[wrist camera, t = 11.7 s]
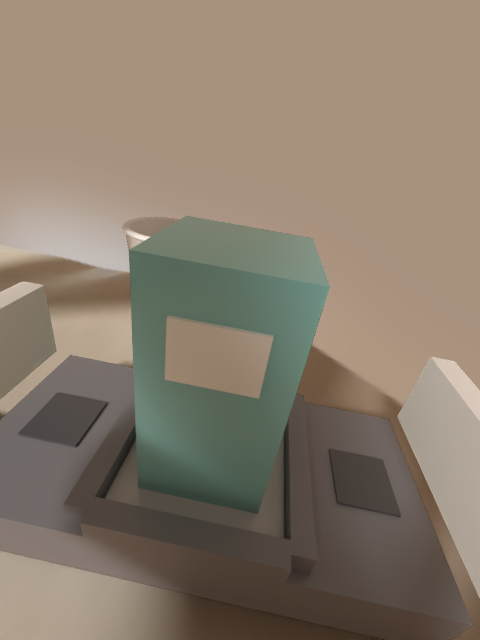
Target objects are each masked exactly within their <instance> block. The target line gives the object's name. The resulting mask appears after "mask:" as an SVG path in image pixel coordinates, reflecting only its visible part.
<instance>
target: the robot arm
mask: <svg viewBox="0 0 480 640" xmlns="http://www.w3.org/2000/svg"><path fill="white" fill-rule="evenodd" d="M56 351H57V350H56V345H55V340H54V335H53V329H52V324H51V319H50V313H49V308H48V303H47V297H46V292H45V287H44V285H41V284H36V283H30V282H25V281H22V282H20V283H18V284H16V285H13V286H11V287H9V288H7V289H5V290H3V291H1V292H0V399H1V398H3V397H4V396H5V395H6V394H7V393H8V392H9V391H11V390H12V389H13V388H14V387H15V386H16V385H18V384H19V383H20V382H21V381H22V380H23V379H25V378H26V377H27V376H28V375H29V374H30V373H31V372H33V371H34V370H35V369H36V368H37V367H38V366H40V365H41V364H42V363H43V362H44V361H45V360H47V359H48V358H49V357H50V356H51V355H52V354H54V353H55V352H56ZM397 417H398V419H399V422H400V424H401V426H402V428H403V430H404V433H405V435H406V437H407V439H408V441H409V444H410V446H411V448H412V450H413V453H414V455H415V457H416V459H417V461H418V464H419V466H420V468H421V470H422V472H423V475H424V477H425V479H426V481H427V483H428V486H429V488H430V490H431V492H432V495H433V497H434V499H435V501H436V503H437V506H438V508H439V510H440V512H441V514H442V517H443V519H444V521H445V523H446V525H447V528H448V530H449V532H450V534H451V537H452V539H453V541H454V543H455V545H456V548H457V550H458V552H459V554H460V556H461V559H462V561H463V563H464V565H465V567H466V570H467V572H468V574H469V576H470V579H471V581H472V583H473V585H474V587H475V590H476V592H477V594H478V596H479V598H480V390H479V389H478V388H477V387H476V386H475V385H474V383H473V382H472V381H471V380H470V379H469V378H468V377H467V375H466V374H465V373H464V372H463V371H462V369H461V368H460V367H459V366H458V365H457V364H456V362H455V361H451V360H445V359H440V358H434V357H430V359H429V361H428V363H427V365H426V366H425V368H424V370H423V372H422V373H421V375H420V377H419V379H418V381H417V382H416V384H415V386H414V388H413V389H412V391H411V393H410V395H409V396H408V398H407V400H406V402H405V404H404V405H403V407H402V409H401V411H400V412H399V414H398V416H397Z"/></svg>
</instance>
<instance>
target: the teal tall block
mask: <svg viewBox="0 0 480 640" xmlns="http://www.w3.org/2000/svg"><path fill="white" fill-rule="evenodd" d="M129 261H130V288H131V315H132V342H133V369H134V397H135V424H136V451H137V478H138V488H141V489H145V490H150V491H155V492H159V493H164V494H168V495H173V496H177V497H182V498H187V499H191V500H196V501H200V502H205V503H209V504H214V505H219V506H223V507H228V508H232V509H237V510H241V511H246V512H251V513H255V514H258V512H259V509H260V506H261V503H262V500H263V496H264V493H265V490H266V487H267V484H268V481H269V478H270V474H271V471H272V468H273V465H274V462H275V459H276V455H277V452H278V449H279V446H280V443H281V440H282V437H283V433H284V430H285V427H286V424H287V421H288V418H289V414H290V411H291V408H292V405H293V402H294V399H295V396H296V392H297V389H298V386H299V383H300V380H301V377H302V373H303V370H304V367H305V364H306V361H307V358H308V355H309V351H310V348H311V345H312V342H313V339H314V336H315V332H316V329H317V326H318V323H319V320H320V316H321V313H322V310H323V307H324V303H325V301H326V298H327V294H328V291H329V288H330V285H329V283H328V280H327V277H326V274H325V272H324V269H323V266H322V263H321V260H320V258H319V255H318V252H317V250H316V246H315V244H314V241H313V238H309V237H303V236H297V235H291V234H286V233H281V232H275V231H269V230H264V229H258V228H252V227H247V226H241V225H235V224H230V223H224V222H218V221H213V220H207V219H202V218H196V217H191V216H185V217H183V218H182V219H180V220H178V221H177V222H175V223H173V224H172V225H170V226H168V227H167V228H165V229H163V230H162V231H160V232H158V233H156V234H155V235H153V236H151V237H150V238H148V239H146V240H145V241H143V242H141V243H140V244H138V245H136V246H135V247H133V248H131V249H130V250H129Z"/></svg>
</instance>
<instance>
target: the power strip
mask: <svg viewBox="0 0 480 640" xmlns="http://www.w3.org/2000/svg"><path fill="white" fill-rule="evenodd" d="M0 550H1V551H5V552H9V553H13V554H18V555H22V556H26V557H31V558H35V559H39V560H44V561H48V562H52V563H56V564H61V565H65V566H69V567H74V568H78V569H82V570H87V571H91V572H95V573H100V574H104V575H108V576H112V577H117V578H121V579H125V580H130V581H134V582H138V583H143V584H147V585H151V586H155V587H160V588H164V589H168V590H173V591H177V592H181V593H186V594H190V595H194V596H199V597H203V598H207V599H211V600H216V601H220V602H224V603H229V604H233V605H237V606H242V607H246V608H250V609H255V610H259V611H263V612H267V613H272V614H276V615H280V616H285V617H289V618H293V619H298V620H302V621H306V622H310V623H315V624H319V625H323V626H328V627H332V628H336V629H341V630H345V631H349V632H354V633H358V634H362V635H366V636H371V637H375V638H379V639H384V640H452V639H454V638H455V637H457V636H458V635H460V634H461V633H462V632H464V631H465V630H467V629H468V628H470V627H471V626H472V622H471V620H470V617H469V615H468V612H467V610H466V607H465V605H464V602H463V600H462V597H461V595H460V592H459V590H458V587H457V585H456V582H455V580H454V578H453V575H452V573H451V570H450V568H449V565H448V563H447V560H446V558H445V555H444V553H443V550H442V548H441V545H440V543H439V540H438V538H437V535H436V533H435V531H434V528H433V526H432V523H431V521H430V518H429V516H428V513H427V511H426V508H425V506H424V503H423V501H422V498H421V496H420V493H419V491H418V488H417V486H416V484H415V481H414V479H413V476H412V474H411V471H410V469H409V466H408V464H407V461H406V459H405V456H404V454H403V451H402V449H401V446H400V444H399V441H398V439H397V437H396V434H395V432H394V429H393V427H392V424H391V422H390V419H386V418H381V417H376V416H371V415H366V414H361V413H356V412H351V411H346V410H341V409H336V408H331V407H326V406H321V405H316V404H311V403H306V402H304V395H300V394H296V396H295V399H294V402H293V405H292V408H291V411H290V414H289V418H288V421H287V424H286V427H285V430H284V433H283V437H282V440H281V443H280V446H279V449H278V452H277V455H276V459H275V462H274V465H273V468H272V471H271V474H270V478H269V481H268V484H267V487H266V490H265V493H264V496H263V500H262V503H261V506H260V509H259V512H258V514H255V513H251V512H246V511H241V510H237V509H232V508H228V507H223V506H219V505H214V504H209V503H205V502H200V501H196V500H191V499H187V498H182V497H177V496H173V495H168V494H164V493H159V492H155V491H150V490H145V489H141V488H138V478H137V451H136V424H135V397H134V369H133V368H132V367H127V366H122V365H118V364H113V363H108V362H103V361H98V360H93V359H88V358H83V357H78V356H73V355H70V356H69V357H68V358H67V359H66V360H65V361H63V362H62V363H61V364H60V365H59V366H58V367H57V368H56V369H55V370H54V371H53V372H52V373H50V374H49V375H48V376H47V377H46V378H45V379H44V380H43V381H42V382H41V383H40V384H39V385H37V386H36V387H35V388H34V389H33V390H32V391H31V392H30V393H29V394H28V395H27V396H26V397H24V398H23V399H22V400H21V401H20V402H19V403H18V404H17V405H16V406H15V407H14V408H13V409H11V410H10V411H9V412H8V413H7V414H6V415H5V416H4V417H3V418H2V419H1V420H0Z"/></svg>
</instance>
